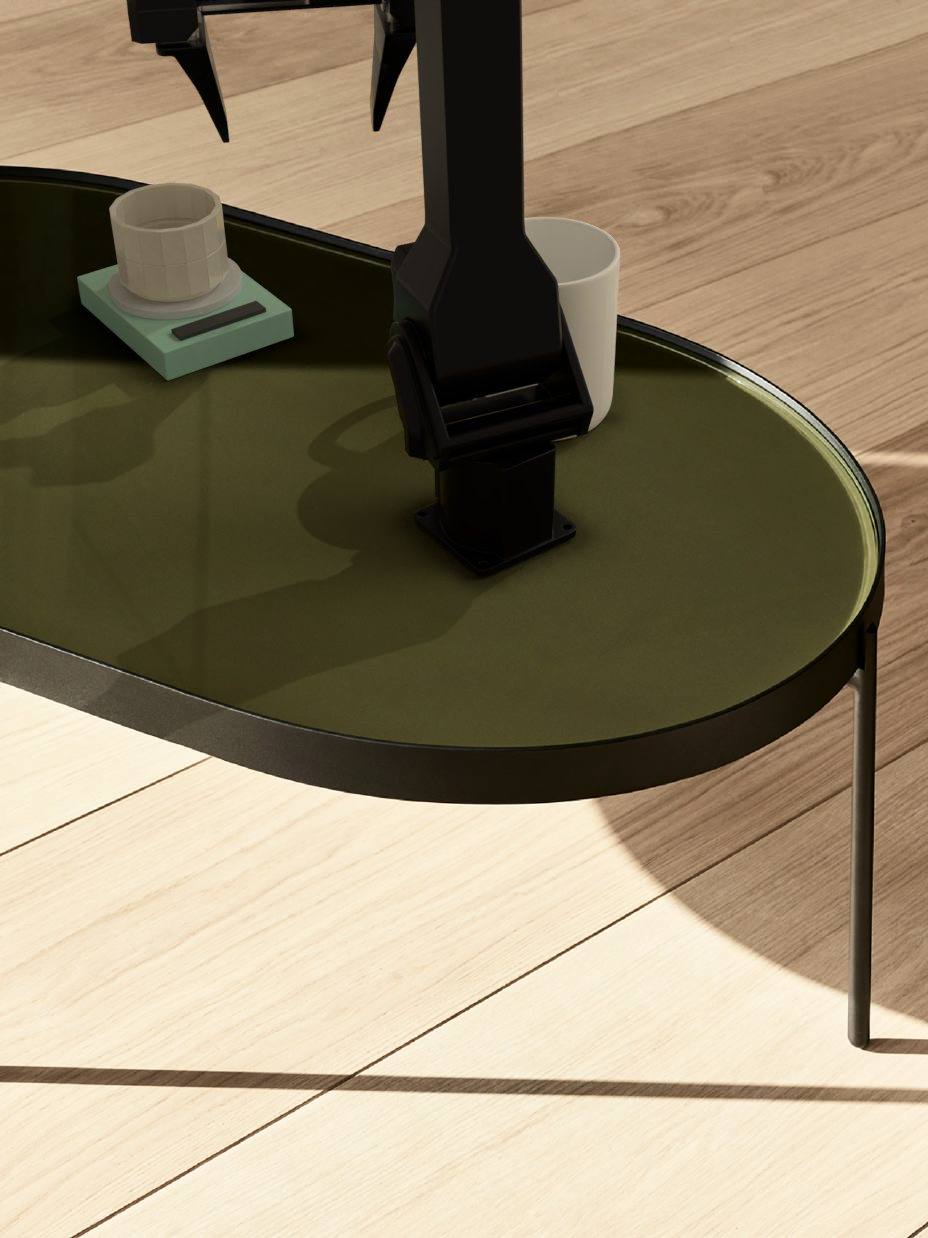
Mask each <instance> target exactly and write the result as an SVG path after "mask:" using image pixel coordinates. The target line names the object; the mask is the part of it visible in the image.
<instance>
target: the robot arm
mask: <svg viewBox="0 0 928 1238" xmlns="http://www.w3.org/2000/svg"><path fill="white" fill-rule="evenodd" d="M522 1H523V0H126V8H127V9H126V10H127V18H128V25H129V32H130V40H131V42H133V43H136V44H140V45H149V44H155V46H154V47H155V52H156V55H157V56H160V57H165V58H166V57H172V58H174V59H175V60H176V62H177V63H178V64H179V66H180V67H181V69H182V70H183V72H184V73H185V74H186V76H187V78H188V79H189V81H190V82H191V83H192V85H193V86H194V88H195V90H196V91H197V93H198V95H199V97H200V99H201V100H202V103H203V104H204V106H205V109H206V111H207V113H208V115H209V117H210V120H211V121H212V123H213V125H214V127H215V129H216V131H217V133H218V136H219V138H220V140H221V142H222V143H223V144H226V143H227V144H228V143H230V132H229V123H228V122H229V121H228V114H227V108H226V104H225V100H224V95H223V91H222V88H221V84H220V79H219V75H218V71H217V66H216V63H215V58H214V54H213V51H212V46H211V41H210V37H209V32H208V26H207V23H206V18H205V17H206V16H221V15H237V14H253V13H265V12H266V13H267V12H269V13H270V12H280V11H281V12H283V11H301V10H313V9H314V10H315V9H328V8H329V9H330V8H343V7H358V6H373V46H372V63H371V77H370V78H371V79H370V91H369V92H370V95H369V108H370V109H369V110H370V125H371V129H372V132H373V133H377V132H380V131H381V129H382V125H383V123H384V119H385V116H386V114H387V111H388V108H389V105H390V103H391V99H392V97H393V94H394V91H395V88H396V85H397V83H398V80H399V78H400V75H401V73H402V71H403V69H404V68H405V66H406V63H408V62H407V61H408V60H409V58H410V57H411V54H412V52H413V50H414V49H415V46H416V63H417V82H418V102H419V103H418V105H419V122H420V125H419V126H420V143H421V162H422V163H421V165H422V185H423V200H424V201H423V204H424V223H423V227H422V228H421V230H420V232H419V233H418V235H417V237H416V239H415V241H412V242H407V243H403V244H398V245H396V246H395V249H394V252H393V254H392V257H391V260H390V270H391V271H390V272H391V278H392V279H391V280H392V286H393V288H392V289H393V311H392V320H393V322H392V323H391V325H390V327H389V331H388V332H389V334H388V340H387V351H388V353H387V354H386V360H387V364H388V370H389V372H390V377H391V379H392V385H393V388H394V393H395V400H396V406H397V412H398V416H399V420H400V422H401V424H402V428H403V434H404V435H403V436H404V437H403V439H404V452H405V453H406V454H407V456H408V457H410V458H414V459H419V460H422V461H427V462H428V463H429V464H430V465H431V467H432V468H433V469H434V495H435V498H436V501H435V502H433V503H430V504H428V505H426V506H423V507H421V508H418V509H416V510H415V511H414V512H413V523H414V524H415V525H416V526H418V527H419V528H420V529H421V530H422V531H424V532H425V533H426V534H427V535H428V536H429V537H430V538H432V539H433V540H434V541H435V542H436V543H438V544H439V545H440V546H441V547H442V548H444V549H445V550H446V551H447V552H448V553H450V555H452V556H453V557H454V558H455V559H457V560H458V561H459V562H460V563H461V564H463V565H464V566H465V567H467V569H469V571H471V572H472V573H473V574H475V575H476V576H479V577H488V576H491V575H493V574H495V573H498V572H500V571H502V570H504V569H506V568H509V567H511V566H514V565H516V564H517V563H520V562H522V561H524V560H526V559H529V558H531V557H533V556H535V555H538V554H540V553H542V552H544V551H546V550H548V549H551V548H554V547H555V546H557V545H560V544H562V543H564V542H566V541H568V540H571V539H573V538H574V537H576V536H577V524H575V523H574V522H573V521H572V520H571V519H569V518H568V517H566V516H565V515H564V514H562V513H561V512H560V511H559V510H557V509H556V508H555V492H556V460H557V459H556V458H557V457H556V456H557V455H556V454H557V446H556V445H555V444H554V443H552V442H555V441H554V440H558V439H562V438H566V437H570V436H574V435H576V436H577V437H580V436H585V435H587V434H588V432H589V431H588V429H589V426H590V423H591V419H592V416H593V413H594V408H593V404H592V400H591V397H590V394H589V391H588V388H587V385H586V382H585V378H584V375H583V372H582V369H581V366H580V363H579V360H578V356H577V353H576V350H575V347H574V344H573V341H572V338H571V334H570V331H569V328H568V325H567V322H566V319H565V316H564V313H563V310H562V307H561V304H560V302H559V290H558V282H557V280H556V278H555V276H554V275H553V273H552V272H551V270H550V269H549V268H548V266H547V265H546V263H545V262H544V260H543V259H542V257H541V256H540V254H539V253H538V251H537V250H536V248H535V247H534V246H533V244H532V243H531V241H530V240H529V238H528V237H527V235H526V233H525V222H524V218H525V161H524V160H525V158H524V157H525V156H524V155H525V153H524V150H525V149H524V148H525V147H524V83H523V80H524V78H523V77H524V73H523V72H524V71H523V69H524V68H523V2H522ZM537 383H538V385H535V386H531V387H527V388H523V389H518V390H514V391H510V392H506V393H502V394H498V395H494V396H490V397H486V396H488V395H492V394H496V393H500V392H504V391H508V390H512V389H517V388H521V387H525V386H529V385H533V384H537ZM476 398H477V399H476ZM473 399H474V400H473Z"/></svg>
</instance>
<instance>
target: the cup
mask: <svg viewBox="0 0 928 1238" xmlns="http://www.w3.org/2000/svg"><path fill="white" fill-rule="evenodd" d="M524 222H525V233H526V235H527V237H528V238H529V240H530V241H531V243H532V244H533V246H534V247H535V248H536V250H537V251H538V253H539V254H540V256H541V257H542V259H543V260H544V262H545V263H546V265H547V266H548V268H549V269H550V270H551V272H552V273H553V275H554V276H555V278H556V280H557V282H558V290H559V302H560V304H561V307H562V310H563V313H564V316H565V319H566V322H567V325H568V328H569V331H570V334H571V338H572V341H573V344H574V347H575V350H576V353H577V356H578V360H579V363H580V366H581V369H582V372H583V375H584V378H585V382H586V385H587V388H588V391H589V394H590V397H591V400H592V404H593V408H594V413H593V416H592V419H591V423H590V426H589V429H588V432H590V431H591V430H593V429H595V428H596V427H597V426H599V424H601V422H602V421H603V420H604V419H605V418H606V416H607V415H608V414H609V411H610V409H611V405H612V401H613V394H614V379H615V362H616V344H617V343H616V342H617V324H618V323H617V322H618V305H619V304H618V302H619V284H620V265H621V249H620V246H619V244H618V242H617V240H616V239H615V238H614V237H613V236H612V235H611V234H610V233H609V232H607V231H605V230H604V229H602V228H600V227H598V226H596V225H593V224H592V223H587V222H585V221H582V220H577V219H572V218H566V217H558V216H557V217H556V216H531V217H524ZM535 385H538V383H537V384H533V385H529V386H525V387H521V388H517V389H512V390H508V391H504V392H500V393H496V394H492V395H488V396H486V397H490V396H494V395H498V394H502V393H506V392H510V391H514V390H518V389H523V388H527V387H531V386H535ZM476 399H477V398H476ZM472 400H474V399H472ZM576 437H578V436H576V435H574V436H570V437H566V438H562V439H558V440H554V441H553V442H559V441H564V440H569V439H573V438H576Z"/></svg>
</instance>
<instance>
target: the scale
mask: <svg viewBox="0 0 928 1238" xmlns="http://www.w3.org/2000/svg"><path fill="white" fill-rule="evenodd" d="M228 266H229V272H228V273H227V275H226V277H225V279H224V280H223V281H222V282H221V283H219V285H218V286H217V287H216V288H215V289H213V290H212V291H210V292H209V293H207V294H205V295H203V296H200V297H197V298H194V299H190V300H185V301H177V302H159V301H152V300H148V299H144V298H142V297H140V296H138V295H136V294H135V293H133V292H131V291H129V290H128V289H127V288H126V287H125V286H124V285H122V284H121V281H120V275H119V268H118V263H117V264H115V265H111V266H108V267H105V268H101V269H98V270H95V271H91V272H89V273H85V274H82V275H79V276H77V278H76V280H77V286H78V292H79V296H80V302H81V305H82V306H83V307H85V309H87V310H88V311H89V312H90V313H91V314H92V315H93V316H94V317H96V318H97V319H98V320H99V321H100V322H101V323H102V324H104V325H105V326H106V327H107V328H108V330H110V331H111V332H112V333H113V334H114V335H116V336H117V337H118V338H119V339H120V340H121V341H122V342H123V343H125V344H126V345H127V346H128V347H129V348H130V349H131V350H132V351H134V352H135V353H136V355H138V356H139V357H140V358H141V359H142V360H144V362H146V363H147V364H148V365H149V366H150V367H151V368H152V369H154V371H156V372H157V373H158V374H159V375H161V377H163V378H164V379H165V380H166V381H172V380H175V379H177V378H180V377H183V376H186V375H189V374H192V373H194V372H197V371H200V370H202V369H203V370H204V369H207V368H209V367H212V366H214V365H217V364H220V363H223V362H225V361H228V360H229V361H230V360H231V359H234V358H237V357H240V356H242V355H245V354H248V353H251V352H254V351H256V350H260V349H263V348H265V347H268V346H271V345H275V344H277V343H280V342H283V341H285V340H288V339H291V338H293V337H295V332H294V320H293V310H292V308H291V307H290V306H288V305H287V304H286V303H284V302H283V301H282V300H280V299H279V298H277V296H276V295H274V294H273V293H271V292H270V291H269V290H268V289H266V288H264V287H263V286H262V285H260V284H259V283H258V282H257V281H255V280H254V279H253V278H252V277H250V276H249V275H248V274H246V273H245V272H244V271H242V270H241V268H240V266H239V265H238V263H236V262H235V261H234V260H233V259H231V258H230V257H228Z"/></svg>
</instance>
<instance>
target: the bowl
mask: <svg viewBox="0 0 928 1238" xmlns="http://www.w3.org/2000/svg"><path fill="white" fill-rule="evenodd" d="M108 211H109V216H110V217H109V218H110V223H111V229H112V236H113V241H114V249H115V255H116V261H117V264H118V268H119V275H120V281H121V284H122V285H124V286H125V287H126V288H127V289H128V290H129V291H131V292H133V293H135V294H136V295H138V296H140V297H142V298H144V299H148V300H152V301H159V302H177V301H185V300H190V299H194V298H197V297H200V296H203V295H205V294H207V293H209V292H210V291H212V290H213V289H215V288H216V287H217V286H218V285H219V283H221V282H222V281H223V280H224V279H225V277H226V275H227V273H228V272H229V266H228V258H229V257H228V248H227V240H226V231H225V222H224V212H223V211H224V210H223V204H222V200H221V197H220V195H218V194H217V193H216V192H214V191H213V190H211V189H210V188H208V187H205V186H202V185H197V184H194V183H187V182H186V183H185V182H163V183H153V184H148V185H144V186H141V187H137V188H134V189H131V190H128V191H127V192H125V193H123V194H121V195H120V196H118V197H116V198H115V200H113V202H112V204H111V205H110V206H109V209H108Z"/></svg>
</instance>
